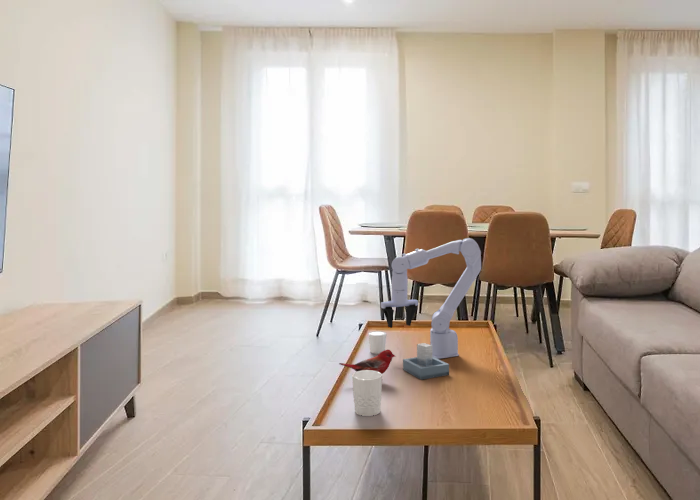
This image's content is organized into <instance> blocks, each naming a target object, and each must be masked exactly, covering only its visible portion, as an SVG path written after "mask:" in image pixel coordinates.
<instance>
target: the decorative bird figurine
mask: <svg viewBox="0 0 700 500" xmlns="http://www.w3.org/2000/svg"><path fill="white" fill-rule="evenodd" d="M394 357H397V356H396V355H395V354H393V352H392V350H391V349H385V350H384V351H382V352H381V353H378V354H377V355H376V356H373V357H371V358H367V359H363V360H362V361H359V362H357V363H355V364H352V363H342V362H339V363H338V365H340V366H343V367H347V368H350V369H352V370H353V371H355V372H357V371H362V370H373V371H377V372H380V373H381V374H382V375H383V374H384V373H385V372H386V371H387V370H388V369H389V367H390V364H391V363H392V360H393V358H394Z"/></svg>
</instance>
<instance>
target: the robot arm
mask: <svg viewBox="0 0 700 500" xmlns="http://www.w3.org/2000/svg"><path fill="white" fill-rule="evenodd" d="M446 254H447V255H448V254H455V255H460V254H461V255H462V256H463V258H464V261H465V265H466V268H465V270H463V272H462V274H461V276H460V277H459V279H458V281H456V283H455V285H454V286H453V288H452V290H451V292H450V293H449V295H448V296H447V298H446V299H445V301H444V303H443V304H442V305H441V306H440V307H439V309H438V310H437V311H435V312H434V313H433V314H432V315H431V328H430V330H429V331H430V332H429V333H430V335H429V336H430V344H429V345H432V356H433V357H435V358H437V359H439V360H441V359H446V358H452V357H453V358H454V357H458V356H460V353H459V340H458V339H459V338H458V333H457V332H456V331H455V330H453V329H451V328H450V321H451V320H452V318H453V316H454V314H455V312H456V310H457V309H458V307H459V305H460V303H461V302H462V301H463V299H464V297H465V296H466V294H467V293H468V291H469V290H470V288H471V286H472V285H473V283H474V282H475V281H476V278H477V277H478V275H479V274H480V272H481V270H482V256H481V255H482V250H481V248H480V246H479V244H478V243H477V241H476V240H475V239H473V238H471V237H466V238H463V239H457V240H452V241H450V242H447V243H444V244H442V245H439V246H437V247H433V248H431V249H428V250H425V249H423V248H421V249H419V248H415V249H414V251H411V252H409V253H402V256H396V257H395V258H394V259H393V260H392V261H391V269H392V272H391V275H392V276H391V300H387V301H382V302H380V308H381V311H382V312H383V314H384V316H385V319H386V323H387V327H389V328H390V329H391V328H393V325H394V324H393V323H394V322H393V319H394V313H395V310H394V309H393V308H399V307H404V311H405V324H406V326H409V327H410V326H411V325H412V321H413V318H414V315H415V313H416V312H417V310H418V306H419V300H417V299H408V296H409V295H408V294H409V293H408V292H409V291H408V289H409V288H408V280H409V277H408V270H412V269H416V268H419V267H421V266H424V265H427V264H428V263H429V261H430V259H431V260H432V259H434V258H437V257H441V256H444V255H446Z"/></svg>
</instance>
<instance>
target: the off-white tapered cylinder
mask: <svg viewBox="0 0 700 500" xmlns="http://www.w3.org/2000/svg"><path fill="white" fill-rule="evenodd" d="M368 341H369V342H368V343H369V351H370V353H372V354H380V353H381V352H382V351H384V350H386V347H387V345H386V343H387V332H385V331H380V330H377V331H376V330H375V331H369V332H368Z"/></svg>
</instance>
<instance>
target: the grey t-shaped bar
mask: <svg viewBox="0 0 700 500" xmlns="http://www.w3.org/2000/svg"><path fill="white" fill-rule="evenodd" d="M416 357H417V365H419V366H421V367H427V366H433V365H432V345H430V344H429V343H425V342H422V343H418V344H416Z"/></svg>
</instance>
